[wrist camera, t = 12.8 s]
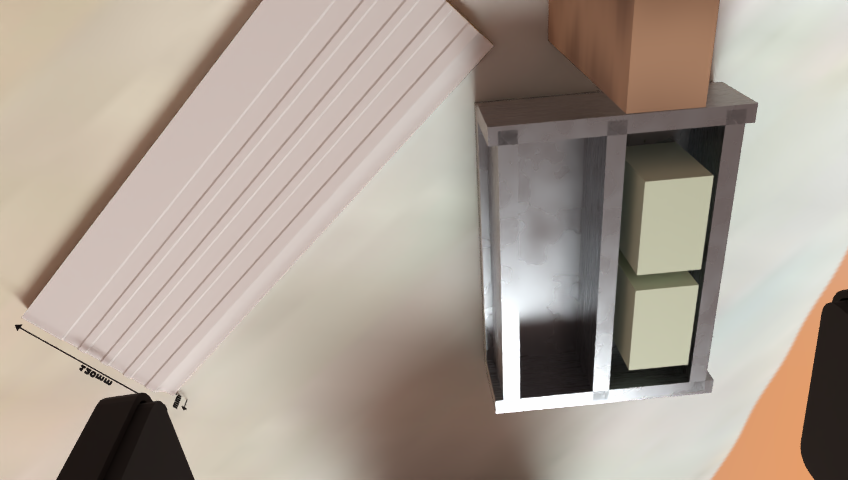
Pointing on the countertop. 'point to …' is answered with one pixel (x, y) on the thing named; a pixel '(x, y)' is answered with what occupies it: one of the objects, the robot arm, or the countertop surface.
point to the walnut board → (639, 48)
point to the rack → (585, 242)
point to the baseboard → (251, 177)
